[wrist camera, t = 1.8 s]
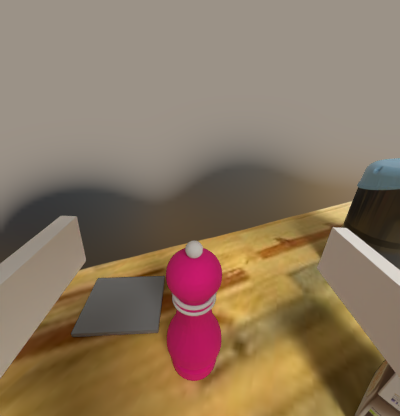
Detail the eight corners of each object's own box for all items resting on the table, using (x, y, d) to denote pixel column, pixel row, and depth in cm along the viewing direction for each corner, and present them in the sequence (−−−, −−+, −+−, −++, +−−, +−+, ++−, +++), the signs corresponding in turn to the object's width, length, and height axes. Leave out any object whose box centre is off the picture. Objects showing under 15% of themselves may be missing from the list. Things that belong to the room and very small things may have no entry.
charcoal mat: (164, 278, 43) (164, 275, 42) (158, 332, 33) (157, 329, 32) (98, 281, 42) (97, 278, 41) (72, 336, 32) (70, 333, 32)
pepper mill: (158, 354, 30) (142, 241, 21) (195, 321, 35) (196, 216, 25) (192, 400, 26) (190, 283, 16) (230, 356, 30) (246, 243, 21)
